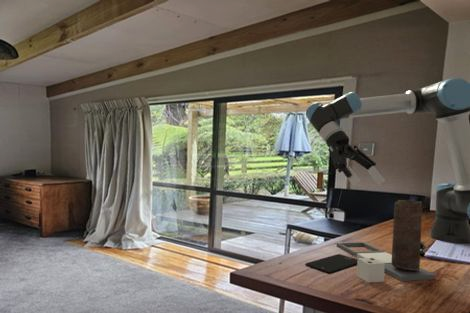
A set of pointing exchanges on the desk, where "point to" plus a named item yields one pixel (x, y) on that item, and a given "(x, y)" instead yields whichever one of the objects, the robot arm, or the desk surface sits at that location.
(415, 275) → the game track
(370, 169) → the robot arm
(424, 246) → the black chunky piece
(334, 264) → the cell phone
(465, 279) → the desk surface
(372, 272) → the die
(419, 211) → the candle
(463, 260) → the desk surface
